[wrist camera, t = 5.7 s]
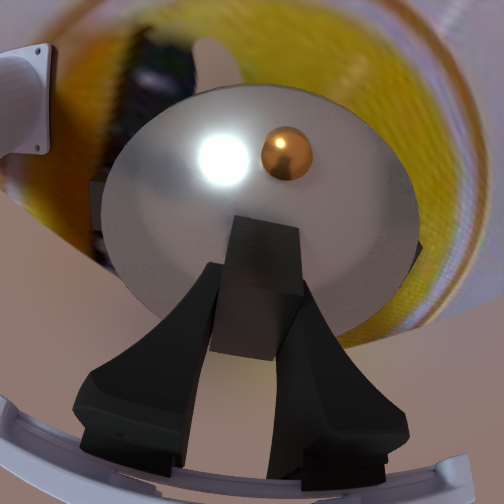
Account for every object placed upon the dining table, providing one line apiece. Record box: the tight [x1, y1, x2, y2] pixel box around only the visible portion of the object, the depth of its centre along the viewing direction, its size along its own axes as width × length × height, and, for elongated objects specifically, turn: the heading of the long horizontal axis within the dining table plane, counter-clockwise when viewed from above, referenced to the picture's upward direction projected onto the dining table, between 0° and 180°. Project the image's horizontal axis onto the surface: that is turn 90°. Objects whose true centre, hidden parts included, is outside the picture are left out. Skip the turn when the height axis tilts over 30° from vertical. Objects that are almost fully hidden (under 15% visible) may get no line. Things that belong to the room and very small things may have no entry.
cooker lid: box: [101, 83, 419, 361], centre depth 12 cm, size 14×14×4 cm
